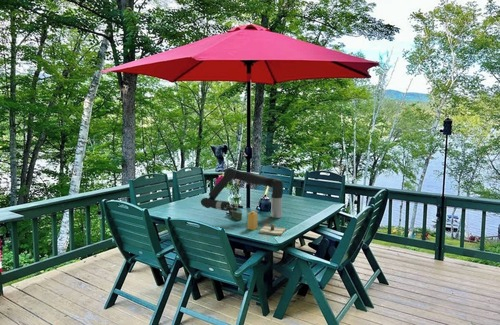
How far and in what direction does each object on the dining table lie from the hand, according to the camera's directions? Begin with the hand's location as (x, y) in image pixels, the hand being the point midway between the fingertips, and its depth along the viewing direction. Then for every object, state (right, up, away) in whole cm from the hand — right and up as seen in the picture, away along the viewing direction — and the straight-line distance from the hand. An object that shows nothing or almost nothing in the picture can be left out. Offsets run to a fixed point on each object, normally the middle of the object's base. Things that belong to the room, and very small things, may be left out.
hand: (240, 208), depth 259 cm
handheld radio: (-7, -12, +29) cm, 32 cm away
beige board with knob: (+25, -16, -12) cm, 31 cm away
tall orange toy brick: (+10, -15, -4) cm, 18 cm away
